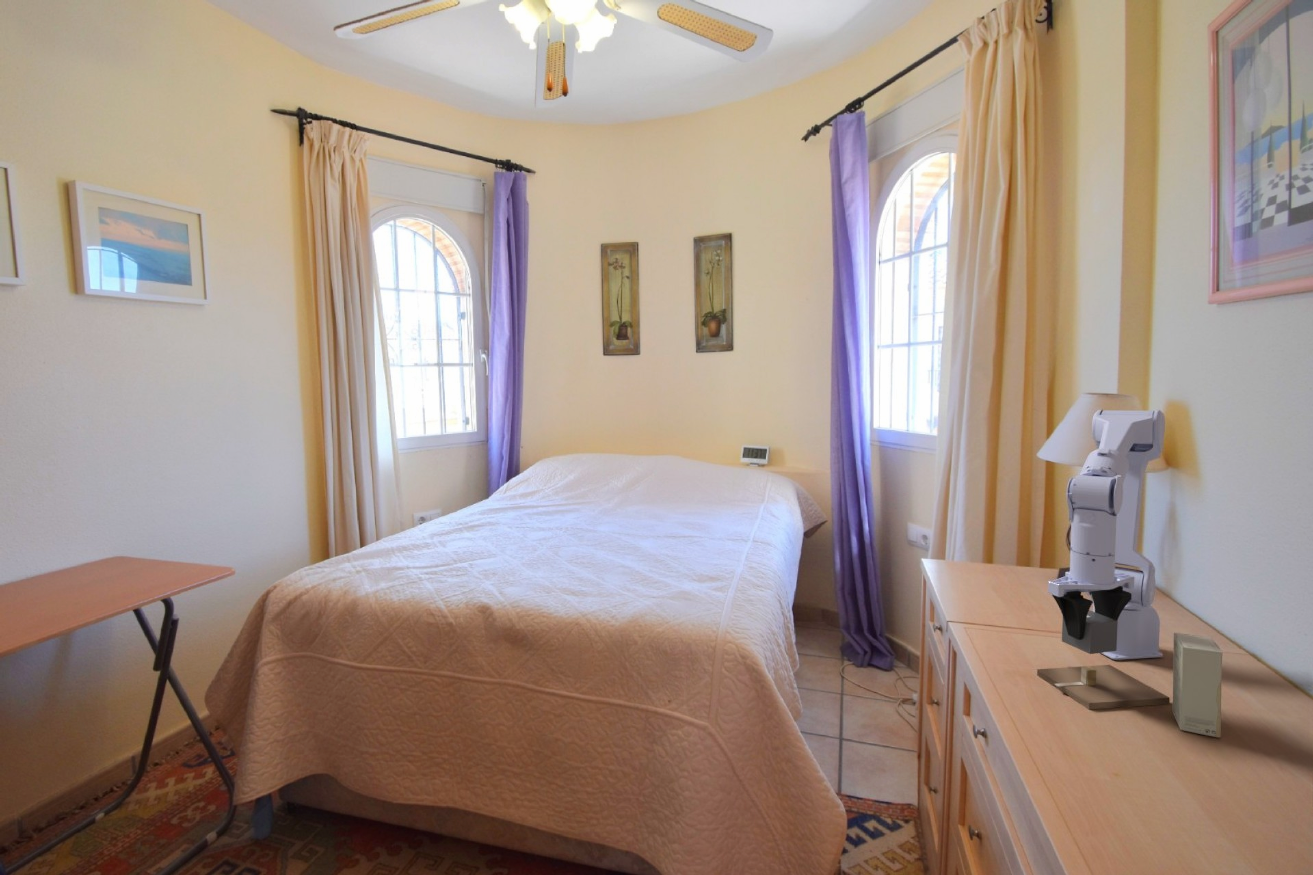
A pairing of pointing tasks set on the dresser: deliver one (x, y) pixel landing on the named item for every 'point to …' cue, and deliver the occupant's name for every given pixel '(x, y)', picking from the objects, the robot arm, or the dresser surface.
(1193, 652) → the skincare box
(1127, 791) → the dresser surface
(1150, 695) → the board
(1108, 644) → the mini file drawer
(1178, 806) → the dresser surface
